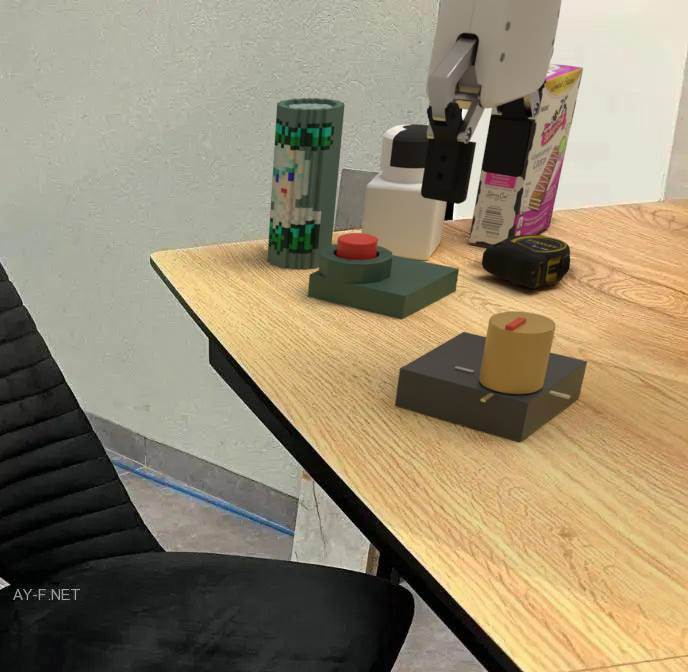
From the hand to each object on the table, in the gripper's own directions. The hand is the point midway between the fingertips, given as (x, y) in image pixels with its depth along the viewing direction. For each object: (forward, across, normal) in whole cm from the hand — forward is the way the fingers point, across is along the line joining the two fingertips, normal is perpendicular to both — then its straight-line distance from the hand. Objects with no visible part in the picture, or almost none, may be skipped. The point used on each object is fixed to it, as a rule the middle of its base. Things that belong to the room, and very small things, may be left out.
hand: (473, 186), depth 83 cm
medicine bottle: (+15, -29, -19) cm, 38 cm away
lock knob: (+11, +5, +7) cm, 15 cm away
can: (+15, -20, -25) cm, 35 cm away
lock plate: (+15, +3, +6) cm, 16 cm away
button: (+11, -13, -16) cm, 23 cm away
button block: (+15, -15, -13) cm, 25 cm away
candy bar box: (+15, -40, -12) cm, 44 cm away
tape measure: (+15, -26, -4) cm, 30 cm away
